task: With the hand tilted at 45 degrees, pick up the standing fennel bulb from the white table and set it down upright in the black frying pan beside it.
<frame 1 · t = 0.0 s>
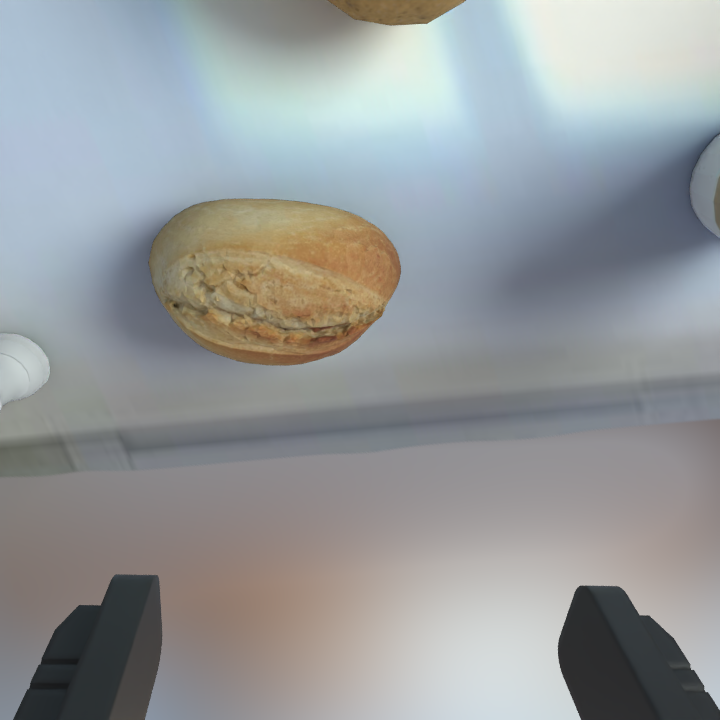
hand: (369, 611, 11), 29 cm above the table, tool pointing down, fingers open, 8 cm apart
rook chess piece: (19, 359, 40), on the table
bread roll: (279, 263, 39), on the table
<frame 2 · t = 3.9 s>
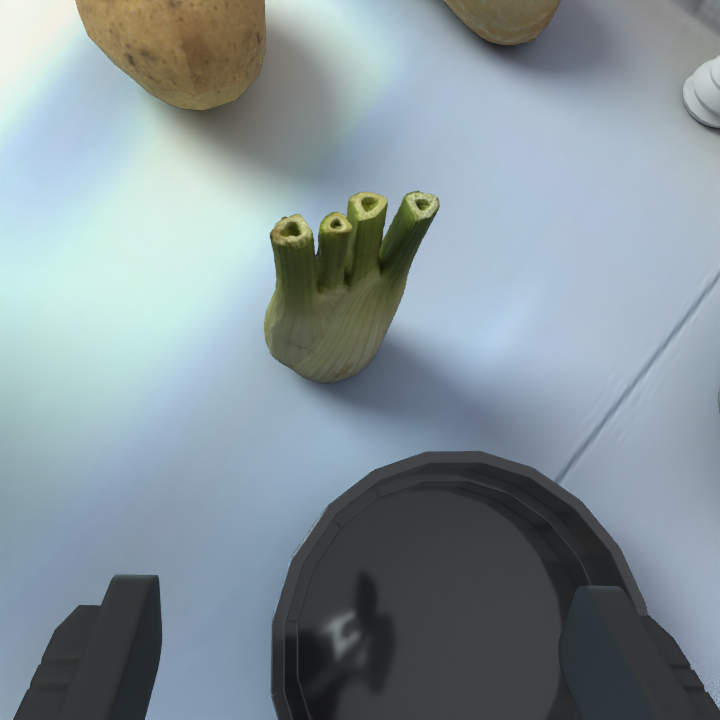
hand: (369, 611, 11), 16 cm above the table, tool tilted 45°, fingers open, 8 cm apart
rook chess piece: (707, 106, 40), on the table
pan: (441, 635, 27), on the table
potato: (186, 63, 35), on the table
fennel bulb: (325, 347, 31), on the table
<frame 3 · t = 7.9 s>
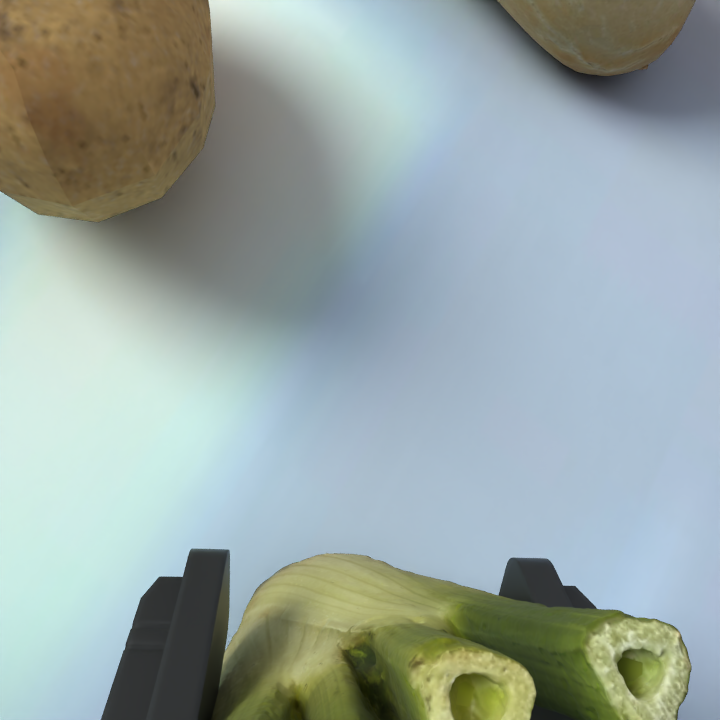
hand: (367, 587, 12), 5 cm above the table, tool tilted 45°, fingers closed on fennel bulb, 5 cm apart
potato: (92, 121, 21), on the table
fennel bulb: (331, 648, 17), on the table, touching gripper
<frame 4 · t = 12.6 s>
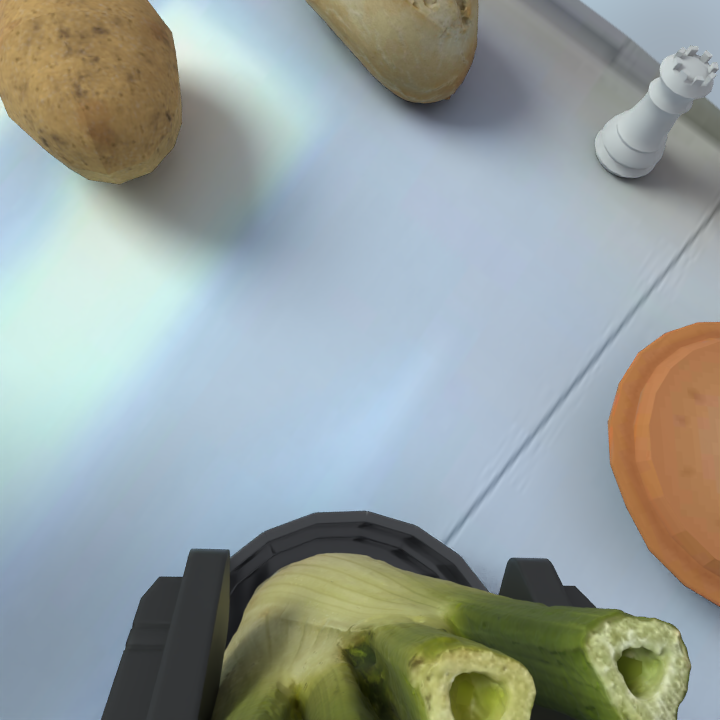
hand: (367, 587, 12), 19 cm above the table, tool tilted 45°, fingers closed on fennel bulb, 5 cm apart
rook chess piece: (620, 156, 41), on the table
pan: (338, 680, 29), on the table
pie: (704, 469, 35), on the table
bread roll: (378, 40, 42), on the table
potato: (114, 130, 37), on the table
fennel bulb: (331, 647, 17), point 13 cm above the table, touching gripper
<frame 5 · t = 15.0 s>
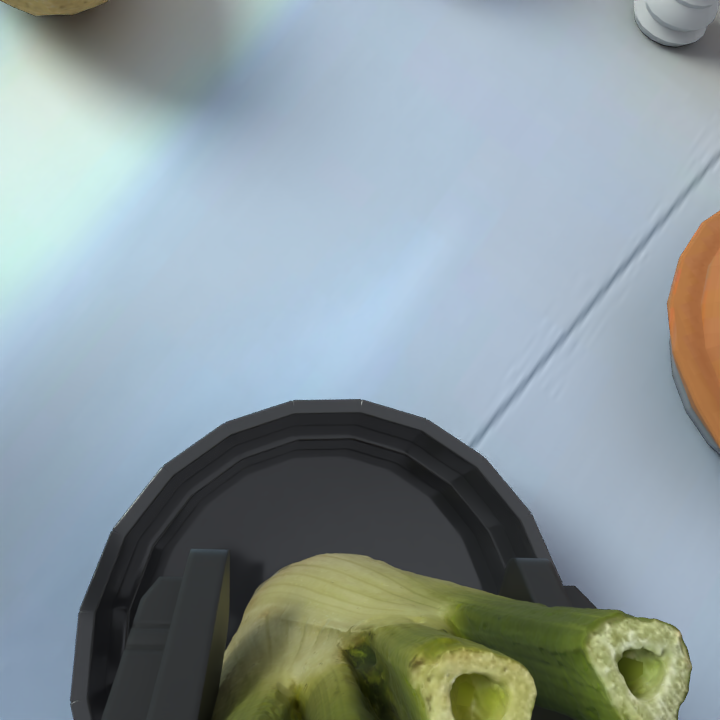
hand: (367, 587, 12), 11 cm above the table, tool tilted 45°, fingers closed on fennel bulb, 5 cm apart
rook chess piece: (663, 24, 35), on the table
pan: (325, 626, 22), on the table
fennel bulb: (331, 648, 17), point 6 cm above the table, touching gripper
when the fingers open (6 cm above the table, at t = 17.1 s): fennel bulb stays where it is, resting on pan.
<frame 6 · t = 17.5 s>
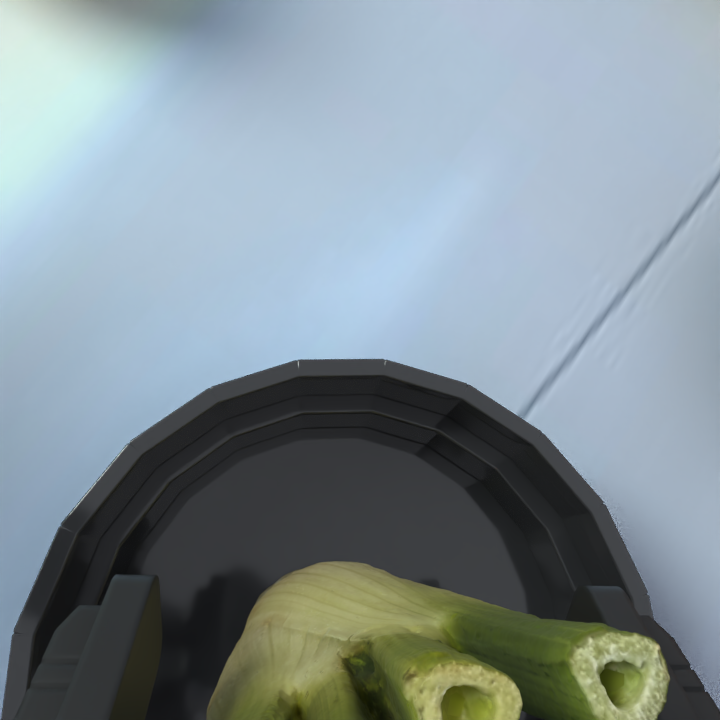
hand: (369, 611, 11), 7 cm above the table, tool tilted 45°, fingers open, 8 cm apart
pan: (338, 647, 18), on the table
fennel bulb: (333, 653, 17), resting on pan
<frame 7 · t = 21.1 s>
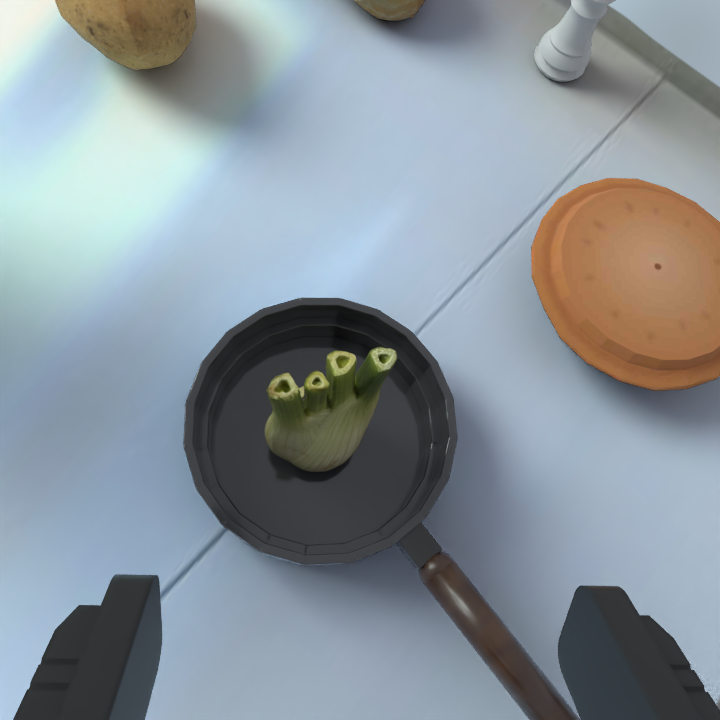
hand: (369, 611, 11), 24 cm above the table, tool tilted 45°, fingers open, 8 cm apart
rook chess piece: (556, 65, 50), on the table
pan: (319, 437, 37), on the table
pie: (615, 300, 43), on the table
potato: (140, 39, 46), on the table
pan handle: (489, 636, 31), point 3 cm above the table
fennel bulb: (316, 437, 37), resting on pan
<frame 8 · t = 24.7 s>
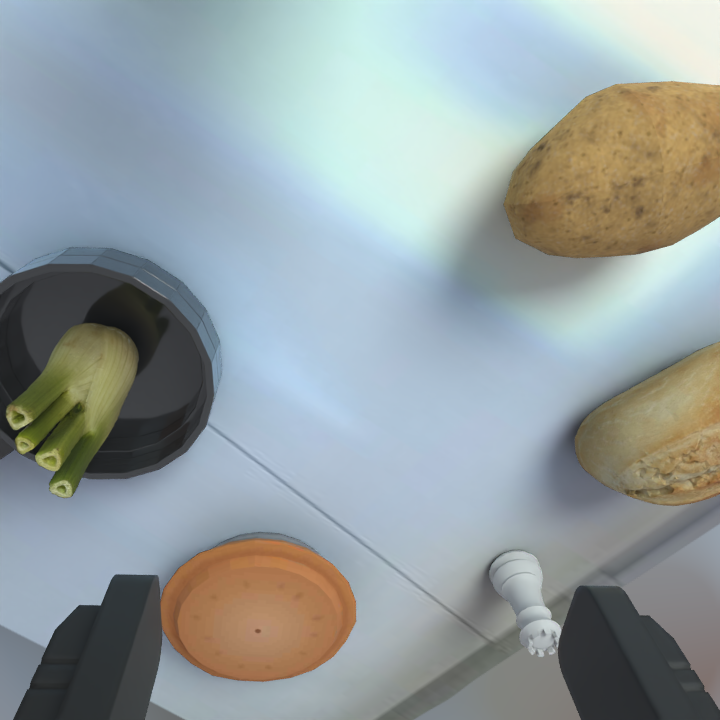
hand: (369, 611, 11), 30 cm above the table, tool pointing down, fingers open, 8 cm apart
rook chess piece: (512, 565, 52), on the table
pan: (111, 352, 41), on the table
pie: (263, 580, 51), on the table
bread roll: (656, 399, 46), on the table
potato: (589, 165, 38), on the table
fennel bulb: (107, 352, 41), resting on pan
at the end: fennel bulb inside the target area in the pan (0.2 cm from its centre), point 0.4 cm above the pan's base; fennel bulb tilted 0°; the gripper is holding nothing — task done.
